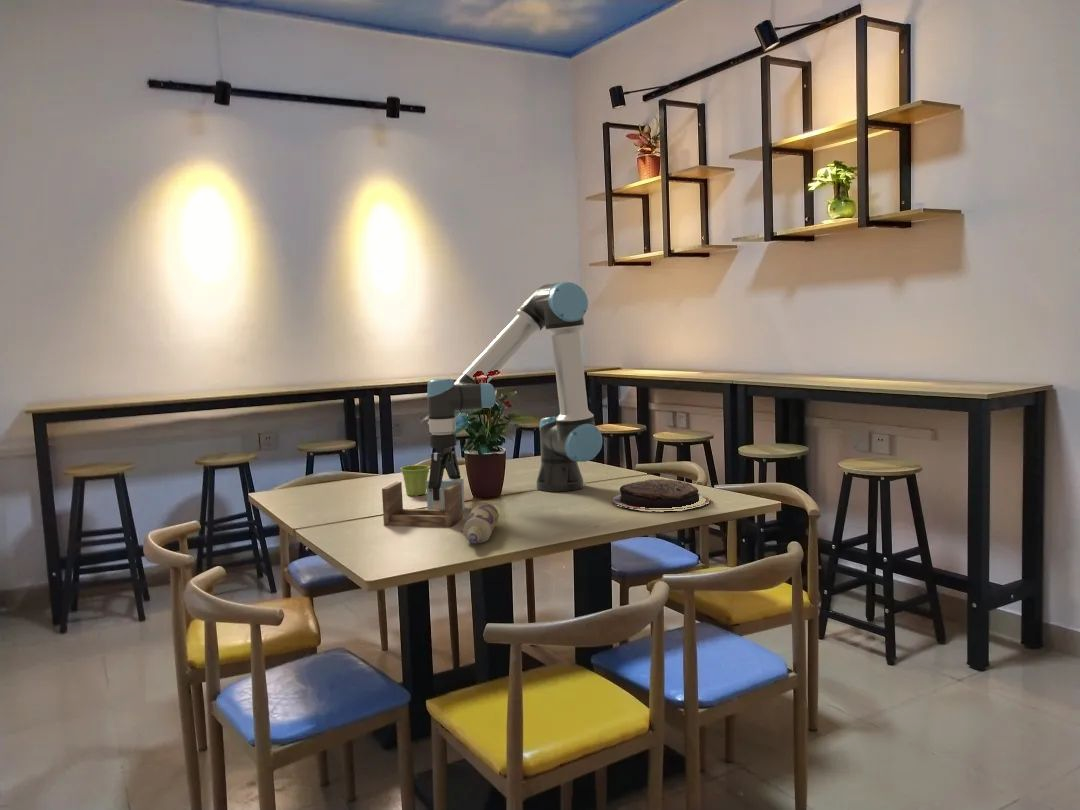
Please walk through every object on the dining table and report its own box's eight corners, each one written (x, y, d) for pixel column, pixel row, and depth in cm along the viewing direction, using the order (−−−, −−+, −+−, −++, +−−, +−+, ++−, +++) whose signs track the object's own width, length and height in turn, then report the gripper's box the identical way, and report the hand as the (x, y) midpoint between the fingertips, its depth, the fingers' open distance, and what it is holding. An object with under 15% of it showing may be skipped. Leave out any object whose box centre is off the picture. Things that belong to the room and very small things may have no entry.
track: (463, 518, 231) (461, 482, 230) (451, 526, 221) (449, 489, 220) (398, 517, 235) (396, 481, 234) (383, 525, 226) (381, 488, 225)
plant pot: (434, 491, 272) (433, 464, 271) (427, 497, 263) (426, 469, 262) (406, 491, 273) (404, 465, 272) (398, 497, 264) (396, 470, 263)
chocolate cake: (730, 502, 240) (730, 480, 240) (663, 519, 223) (663, 494, 222) (658, 490, 262) (658, 469, 262) (592, 504, 245) (591, 482, 244)
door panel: (464, 509, 242) (463, 479, 241) (460, 513, 238) (458, 481, 237) (432, 509, 244) (430, 478, 244) (426, 512, 240) (425, 481, 239)
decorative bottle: (470, 527, 221) (470, 502, 220) (499, 527, 220) (498, 501, 220) (454, 553, 195) (453, 525, 194) (487, 553, 195) (486, 524, 194)
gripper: (444, 427, 252) (448, 497, 254) (414, 438, 228) (417, 515, 230) (468, 427, 251) (471, 497, 253) (440, 438, 227) (443, 516, 229)
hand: (446, 506), depth 241 cm, fingers open, 13 cm apart
